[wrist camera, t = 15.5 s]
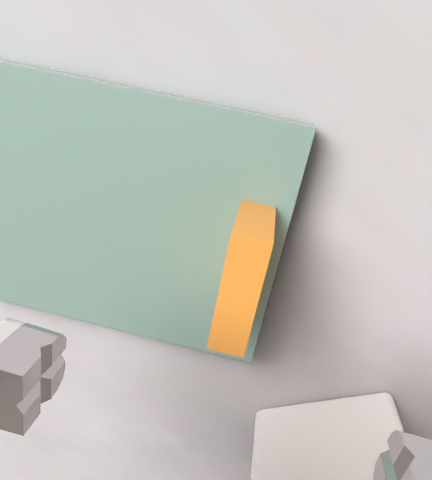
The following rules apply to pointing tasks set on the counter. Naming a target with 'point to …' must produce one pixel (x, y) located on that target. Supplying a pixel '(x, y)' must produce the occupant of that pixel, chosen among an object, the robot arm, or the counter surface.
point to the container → (324, 438)
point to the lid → (143, 207)
